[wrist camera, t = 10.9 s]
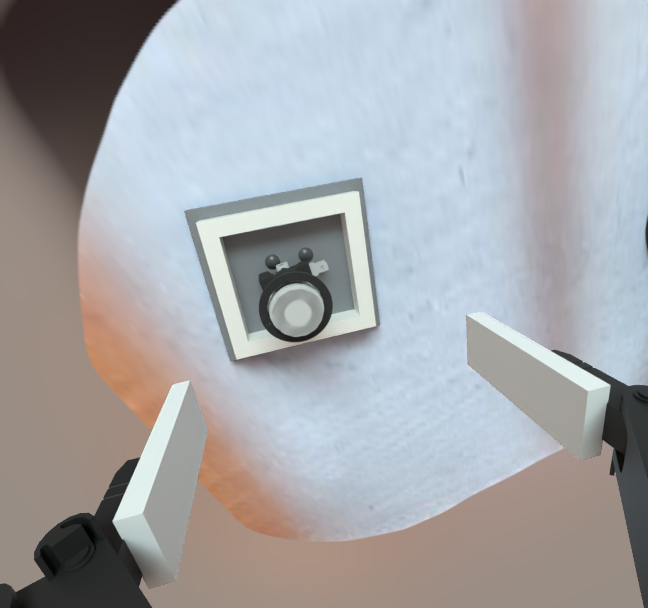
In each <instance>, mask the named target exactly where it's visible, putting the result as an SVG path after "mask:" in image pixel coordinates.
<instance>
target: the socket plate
mask: <svg viewBox="0 0 648 608" xmlns="http://www.w3.org/2000/svg"><path fill="white" fill-rule="evenodd" d="M184 212H185V215H186V218H187V222H188V225H189V228H190V231H191V235H192V238H193V241H194V244H195V248H196V251H197V254H198V258H199V261H200V264H201V267H202V271H203V274H204V277H205V280H206V284H207V287H208V290H209V294H210V297H211V300H212V303H213V307H214V310H215V313H216V316H217V320H218V323H219V326H220V330H221V333H222V336H223V339H224V343H225V346H226V349H227V352H228V356H229V359H230V361H234V360H238V359H242V358H246V357H250V356H254V355H259V354H263V353H267V352H271V351H275V350H279V349H283V348H288V347H292V346H296V345H300V344H304V343H308V342H312V341H317V340H321V339H325V338H329V337H333V336H337V335H342V334H346V333H350V332H354V331H358V330H362V329H366V328H371V327H375V326H379V325H380V321H379V313H378V305H377V296H376V288H375V280H374V272H373V264H372V256H371V248H370V240H369V232H368V224H367V216H366V208H365V199H364V191H363V183H362V178H356V179H351V180H345V181H340V182H335V183H329V184H324V185H319V186H313V187H308V188H303V189H297V190H292V191H287V192H281V193H276V194H271V195H265V196H260V197H255V198H249V199H244V200H238V201H233V202H228V203H222V204H217V205H212V206H206V207H201V208H196V209H190V210H186V211H184ZM304 260H307V262H308V263H309V264H310V263H312V262H314V263H317V262H320V261H322V260H325V262H327V265H328V268H329V269H328V270H327V271H324V272H321V273H318V276H316V277H317V278H319V279H320V280H321V281H322V282H323V283H324V284H325V285H326V287H327V288H328V290H329V292H330V294H331V297H332V302H333V310H332V315H331V318H330V320H329V322H328V324H327V326H326V327H325V328H324V329H323V331H322V332H320V333H319V334H318V335H317V336H315V337H313V338H311V339H309V340H306V341H303V342H286V341H283V340H280V339H278V338H276V337H274V336H273V335H271V334H270V333H269V332H268V331H267V330H266V329H265V327H264V326H263V324H262V322H261V319H260V315H259V300H260V297H261V294H262V292H263V290H262V288H261V285H260V283H259V274H261V273H263V272H266V271H269V272H270V273H271V274H272V273H275V272H277V268H276V265H278V264H281V263H283V262H287V263H288V266H289V267H291V266H294V265H296V264H298V263H299V262H301V261H304ZM320 264H321V263H320ZM282 265H283V264H282ZM321 267H323V265H322V266H321ZM322 270H323V269H322ZM312 287H313V288H314V289H315V290H316V291H317V292H318V293H319V294H320V291H319V290H318V289H317V288H316V287H315V286H314V285H313V286H312ZM320 296H321V294H320ZM269 305H270V301H269V302H268V305H267V309H268V312H269Z"/></svg>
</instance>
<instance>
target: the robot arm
mask: <svg viewBox="0 0 648 608" xmlns="http://www.w3.org/2000/svg"><path fill="white" fill-rule="evenodd" d="M647 240H648V226H647ZM466 326H467V360H468V365H469V366H470V367H472V368H473V369H474V370H475V371H476V372H477V373H478V374H480V375H481V376H482V377H483V378H484V379H485V380H487V381H488V382H489V383H490V384H491V385H492V386H494V387H495V388H496V389H497V390H498V391H499V392H501V393H502V394H503V395H504V396H505V397H506V398H508V399H509V400H510V401H511V402H512V403H513V404H514V405H516V406H517V407H518V408H519V409H520V410H521V411H523V412H524V413H525V414H526V415H527V416H528V417H530V418H531V419H532V420H533V421H534V422H535V423H537V424H538V425H539V426H540V427H541V428H542V429H544V430H545V431H546V432H547V433H548V434H549V435H550V436H552V437H553V438H554V439H555V440H556V441H557V442H559V443H560V444H561V445H562V446H563V447H564V448H566V449H567V450H568V451H569V452H570V453H572V454H573V455H574V456H575V457H576V458H577V459H579V460H580V461H582V460H585V459H588V458H592V457H595V456H599V455H601V449H602V441H603V440H604V441H605V442H606V443H608V444H609V445H611V446H612V447H613V448H614V449H613V456H612V462H611V468H610V475H614V473H615V472H616V477H617V481H618V486H619V491H620V496H621V500H622V505H623V510H624V514H625V519H626V524H627V529H628V533H629V538H630V543H631V548H632V552H633V557H634V562H635V567H636V572H637V577H638V581H639V586H640V591H641V596H642V600H643V605H644V608H648V386H645V385H633V386H627V385H625V384H624V383H622V382H620V381H618V380H616V379H614V378H613V377H611V376H609V375H607V374H605V373H603V372H602V371H600V370H598V369H596V368H593V367H592V366H591V365H589V364H587V363H585V362H584V363H583V362H582V361H581V360H579V359H578V358H576V357H574V356H572V355H570V354H567V353H564V352H561V351H557V350H552V351H550V350H548V349H546V348H545V347H543V346H541V345H539V344H538V343H536V342H534V341H532V340H531V339H529V338H527V337H525V336H524V335H522V334H520V333H518V332H517V331H515V330H513V329H511V328H509V327H508V326H506V325H504V324H502V323H501V322H499V321H497V320H495V319H494V318H492V317H490V316H488V315H487V314H485V313H483V312H481V311H480V312H475V313H471V314H467V315H466ZM207 433H208V429H207V426H206V423H205V420H204V418H203V415H202V412H201V409H200V406H199V404H198V401H197V398H196V395H195V392H194V390H193V387H192V384H191V381H186V382H181V383H177V384H173V385H172V387H171V389H170V392H169V394H168V396H167V398H166V401H165V403H164V405H163V407H162V410H161V412H160V414H159V417H158V419H157V421H156V423H155V426H154V428H153V430H152V433H151V435H150V437H149V439H148V442H147V444H146V446H145V449H144V451H143V453H142V455H141V457H140V458H136V459H132V460H128V461H126V463H125V464H124V465H123V466H122V467H121V468H120V469H119V470H118V471H117V472H116V474H115V476H114V478H113V480H112V482H111V484H110V486H109V489H108V490H107V492H106V494H105V496H104V500H102V502H101V504H100V506H99V508H98V510H97V512H96V514H95V516H93V515H91V514H90V513H80V514H77V515H74V516H71V517H69V518H67V519H65V520H64V521H62V522H60V523H59V524H57V525H56V526H55V527H54V528H53V529H51V530H50V531H49V532H48V533H47V534H46V535H45V536H44V537H43V539H42V540H41V541H40V542H39V544H38V546H37V548H36V550H35V552H34V560H35V562H36V563H37V565H38V566H39V568H40V569H41V571H42V572H43V573H44V575H45V577H43V578H42V579H40V580H38V581H36V582H34V583H32V584H30V585H29V586H27V587H25V588H23V589H21V590H19V591H17V592H15V591H14V590H13V589H12V587H11V586H9V585H7V584H5V583H4V584H0V608H152V607H151V605H150V604H149V602H148V601H147V599H146V597H145V596H144V595H143V593H142V591H141V590H140V588H139V585H140V581H141V578H142V577H143V579H144V581H145V583H146V584H147V586H148V588H149V589H151V588H154V587H158V586H161V585H164V584H168V583H171V582H174V581H176V579H177V574H178V569H179V565H180V560H181V555H182V550H183V546H184V541H185V536H186V532H187V527H188V522H189V518H190V513H191V508H192V503H193V499H194V493H195V489H196V484H197V480H198V475H199V470H200V466H201V461H202V456H203V452H204V447H205V442H206V437H207Z"/></svg>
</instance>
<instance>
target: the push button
mask: <svg viewBox="0 0 648 608" xmlns="http://www.w3.org/2000/svg"><path fill="white" fill-rule="evenodd" d="M320 263H321V264H320ZM282 264H283V265H282ZM322 265H323V267H321V266H322ZM276 268H277V272H275V273H272V274H271V273H270V272H269V271H266V272H263V273H261V274H259V283H260V285H261V288H262V290H263V292H262V294H261V297H260V300H259V315H260V319H261V322H262V324H263V326H264V327H265V329H266V330H267V331H268V332H269V333H270V334H271V335H273V336H274V337H276V338H278V339H280V340H283V341H286V342H303V341H306V340H309V339H311V338H313V337H315V336H317V335H318V334H319V333H320V332H322V331H323V329H324V328H325V327H326V326H327V324H328V322H329V320H330V318H331V315H332V310H333V302H332V297H331V294H330V292H329V290H328V288H327V287H326V285H325V284H324V283H323V282H322V281H321V280H320V279H319V278H317V277H316V276H318V273H321V272H324V271H327V270H328V269H329V268H328V265H327V262H325V260H322V261H320V262H317V263H314V262H312V263H310V264H309V263H308V262H307V260H304V261H301V262H299V263H298V264H296V265H294V266H291V267H289V266H288V263H287V262H283V263H281V264H278V265H276ZM322 269H323V270H322ZM313 285H314V286H315V287H316V288H317V289H318V290H319V291H320V294H321V296H320V294H319V293H318V292H317V291H316V290H315V289H314V288H313V287H312V286H313ZM269 301H270V305H269V312H268V309H267V305H268V302H269Z"/></svg>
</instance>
